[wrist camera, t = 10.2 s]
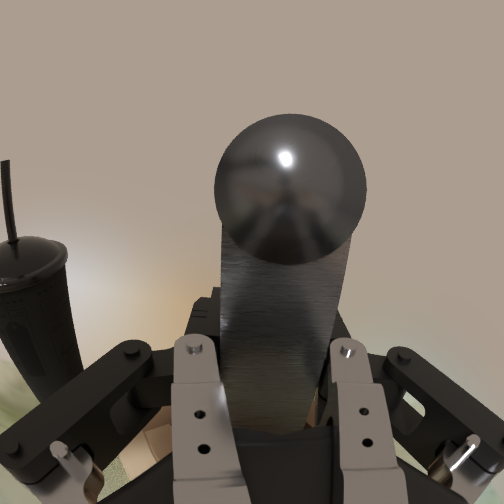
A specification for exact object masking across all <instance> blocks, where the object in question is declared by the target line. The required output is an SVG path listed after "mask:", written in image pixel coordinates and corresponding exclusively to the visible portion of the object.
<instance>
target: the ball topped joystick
mask: <svg viewBox="0 0 504 504" xmlns="http://www.w3.org/2000/svg"><path fill="white" fill-rule="evenodd" d="M366 191H367V187H366V177H365V172H364V168H363V165H362V162H361V160H360V157H359V156H358V153H357V152H356V150H355V149H354V147H353V146H352V144H351V143H350V142H349V140H348V139H347V138H346V137H345V136H344V135H343V134H342V133H341V132H339V131H338V130H337V129H336V128H334V127H332V126H331V125H330V124H328V123H326V122H324V121H322V120H320V119H317V118H314V117H311V116H306V115H301V114H282V115H275V116H271V117H267V118H265V119H262V120H260V121H257V122H256V123H254V124H252V125H250V126H249V127H247V128H246V129H245V130H243V131H242V132H241V133H240V134H239V135H238V136H237V137H236V138H235V139H234V140H233V141H232V142H231V143H230V145H229V146H228V147H227V149H226V150H225V153H224V154H223V156H222V158H221V160H220V163H219V165H218V168H217V173H216V176H215V184H214V196H215V203H216V208H217V211H218V215H219V217H220V220H221V222H222V243H221V296H220V380H221V381H222V382H223V386H224V391H225V396H226V402H227V407H228V412H229V417H230V422H231V427H232V428H248V429H253V430H257V431H262V432H267V433H272V434H277V435H285V434H289V433H293V432H297V431H301V430H303V429H304V426H305V423H306V420H307V417H308V414H309V411H310V408H311V405H312V401H313V398H314V395H315V392H316V388H317V385H318V382H319V378H320V375H321V371H322V368H323V364H324V361H325V357H326V353H327V349H328V346H329V342H330V338H331V334H332V330H333V325H334V321H335V317H336V313H337V308H338V304H339V299H340V294H341V290H342V285H343V280H344V275H345V270H346V264H347V259H348V253H349V248H350V242H351V236H352V233H353V231H354V230H355V228H356V227H357V225H358V223H359V220H360V219H361V216H362V213H363V210H364V206H365V201H366Z"/></svg>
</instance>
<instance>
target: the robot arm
mask: <svg viewBox="0 0 504 504" xmlns="http://www.w3.org/2000/svg"><path fill="white" fill-rule="evenodd" d="M220 296H221V287H213V291H212V295H211V298H206V297H200V298H199V299H198V300H197V301H196V302H195V303H194V305H193V308H192V312H191V315H190V318H189V321H188V325H187V328H186V331H185V334H184V336H182V337H180V338H179V339H178V340H177V341H176V342H175V345H174V347H172V348H170V349H166V350H157V351H152V350H151V347H150V346H149V344H147V343H146V342H144V341H141V340H127V341H124V342H121V343H120V344H118V345H117V346H115V347H114V348H113V349H111V350H110V351H109V352H108V353H106V354H105V355H103V356H102V357H101V358H100V359H98V360H97V361H96V362H95V363H93V364H92V365H90V366H89V367H88V368H86V369H85V370H84V371H82V372H81V373H80V374H78V375H77V376H76V377H75V378H73V379H72V380H71V381H69V382H68V383H67V384H65V385H64V386H63V387H61V388H60V389H59V390H58V391H56V392H55V393H54V394H52V395H51V396H50V397H48V398H47V399H46V400H45V401H43V402H42V403H41V404H39V405H38V406H37V407H35V408H34V409H33V410H32V411H30V412H29V413H28V414H26V415H25V416H24V417H22V418H21V419H20V420H19V421H17V422H16V423H15V424H13V425H12V426H11V427H10V428H8V429H7V430H6V431H4V432H3V433H2V434H1V435H0V463H1V464H2V465H3V466H4V467H5V468H6V469H7V470H8V471H9V472H10V473H11V474H12V476H13V477H14V478H15V479H16V480H17V481H18V482H19V483H20V484H22V485H23V486H24V487H25V488H26V489H27V490H29V491H30V492H31V493H32V494H33V495H35V496H36V497H37V498H38V499H39V500H40V501H41V503H42V504H474V503H475V501H476V500H477V499H478V498H479V496H480V495H481V494H482V492H483V491H484V490H485V488H486V487H487V486H488V484H489V483H490V482H491V480H492V479H493V478H494V477H495V476H496V475H497V474H498V473H500V472H501V471H502V470H503V469H504V421H503V420H502V419H500V418H499V417H498V416H497V415H495V414H494V413H493V412H492V411H490V410H489V409H488V408H487V407H485V406H484V405H483V404H482V403H480V402H479V401H478V400H477V399H475V398H474V397H473V396H471V395H470V394H469V393H467V392H466V391H465V390H464V389H463V388H461V387H460V386H459V385H457V384H456V383H454V382H453V381H452V380H451V379H450V378H448V377H447V376H446V375H444V374H443V373H442V372H440V371H439V370H438V369H437V368H435V367H434V366H433V365H431V364H430V363H429V362H428V361H426V360H425V359H423V358H422V357H421V356H420V355H418V354H417V353H416V352H414V351H413V350H411V349H409V348H406V347H400V346H399V347H393V348H391V349H390V350H389V351H388V353H387V355H386V356H380V355H374V354H369V353H367V351H366V348H365V346H364V345H363V344H362V343H360V342H359V341H357V340H354V339H352V338H351V336H350V334H349V332H348V330H347V328H346V326H345V324H344V322H343V320H342V318H341V317H340V314H339V312H338V310H337V313H336V317H335V321H334V325H333V330H332V334H331V338H330V342H329V346H328V349H327V353H326V357H325V361H324V364H323V368H322V371H321V375H320V378H319V382H318V385H317V387H318V390H317V393H316V397H315V425H314V427H312V428H308V429H305V430H301V431H297V432H293V433H289V434H285V435H277V434H272V433H267V432H262V431H257V430H253V429H248V428H232V427H231V422H230V417H229V412H228V407H227V402H226V396H225V391H224V386H223V382H222V381H221V380H220ZM406 391H407V392H408V393H409V394H411V395H412V396H413V397H414V398H415V399H416V400H417V401H419V402H420V403H421V404H422V405H423V406H424V408H425V416H424V417H423V416H422V415H420V414H419V413H418V412H417V411H416V410H415V409H414V408H413V407H412V406H410V405H409V404H408V403H407V402H406V401H405V400H404V399H403V397H404V395H405V393H406ZM163 406H171V418H172V450H173V451H171V452H170V453H169V454H168V455H166V456H165V457H164V458H162V459H161V460H160V461H158V462H157V463H156V464H154V465H153V466H151V467H150V468H149V469H147V470H146V471H144V472H143V473H142V474H140V475H139V476H137V477H136V478H135V479H133V480H132V481H130V482H129V483H127V484H126V485H124V486H123V487H121V488H120V489H118V490H117V491H115V492H113V493H112V494H110V495H109V496H107V497H106V498H104V499H102V500H101V501H99V502H97V498H98V495H99V493H100V492H101V490H102V488H103V486H104V476H103V473H102V471H103V470H104V469H105V468H106V467H107V466H108V465H109V464H110V463H111V462H112V461H113V460H114V459H115V458H116V457H117V456H118V455H119V454H120V452H121V451H122V450H123V449H124V448H125V447H126V446H127V445H128V444H129V443H130V442H131V441H132V440H133V439H134V438H135V437H136V436H137V435H138V434H139V432H140V431H141V430H142V429H143V428H144V427H145V426H146V425H147V424H148V423H149V422H150V421H151V420H152V418H153V417H154V416H155V415H156V414H157V413H158V412H159V411H160V410H161V408H162V407H163ZM393 438H394V439H395V440H396V441H397V442H398V443H399V444H400V445H401V446H402V447H403V448H404V449H405V450H406V451H407V452H408V453H409V454H410V455H411V456H413V457H414V458H415V459H416V460H417V461H418V462H419V463H420V464H421V465H422V466H423V467H424V468H425V469H426V470H427V471H428V475H426V474H424V473H423V472H421V471H419V470H418V469H416V468H415V467H413V466H411V465H410V464H408V463H407V462H405V461H404V460H402V459H401V458H399V457H398V456H396V453H395V447H394V441H393Z"/></svg>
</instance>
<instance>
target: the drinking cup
mask: <svg viewBox="0 0 504 504" xmlns="http://www.w3.org/2000/svg"><path fill="white" fill-rule="evenodd" d="M0 163H1V183H2V194H3V195H2V196H3V205H4V214H5V220H6V228H7V233H8V240H7V241H4V242H2V243H0V338H1V340H2V342H3V344H4V346H5V348H6V350H7V352H8V353H9V355H10V357H11V359H12V360H13V362H14V364H15V365H16V367H17V369H18V370H19V372H20V374H21V375H22V377H23V378H24V380H25V381H26V383H27V384H28V386H29V387H30V389H31V390H32V392H33V393H34V395H35V396H36V397H37V399H38V400H39V402H40V403H42V402H43V401H45V400H46V399H47V398H48V397H50V396H51V395H52V394H54V393H55V392H56V391H58V390H59V389H60V388H61V387H63V386H64V385H65V384H67V383H68V382H69V381H71V380H72V379H73V378H75V377H76V376H77V375H78V374H80V373H81V372H82V371H84V369H83V365H82V361H81V357H80V353H79V349H78V344H77V339H76V334H75V329H74V324H73V319H72V313H71V307H70V301H69V294H68V286H67V278H66V269H65V263H66V261H67V258H68V253H67V248H66V247H65V245H64V244H62V243H60V242H57V241H53V240H47V239H44V238H40V237H34V236H24V237H17V233H16V227H15V220H14V212H13V204H12V192H11V179H10V160H5V161H1V162H0Z"/></svg>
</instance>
